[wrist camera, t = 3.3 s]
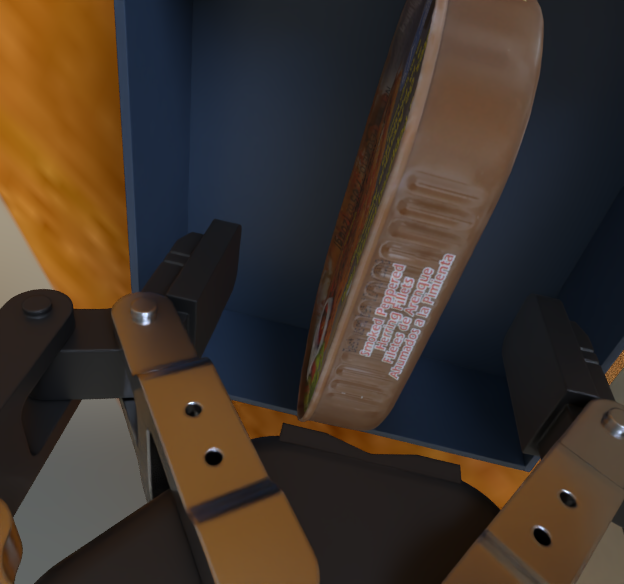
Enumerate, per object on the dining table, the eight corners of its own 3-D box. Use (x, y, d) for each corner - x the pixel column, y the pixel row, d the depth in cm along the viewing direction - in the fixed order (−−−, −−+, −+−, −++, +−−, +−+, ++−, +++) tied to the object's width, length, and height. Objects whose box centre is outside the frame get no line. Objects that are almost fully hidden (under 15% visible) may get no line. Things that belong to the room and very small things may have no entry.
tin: (423, -65, 15) (430, -45, 8) (526, -35, 15) (614, 10, 8) (309, 312, 24) (268, 465, 18) (372, 330, 24) (357, 490, 18)
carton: (190, -169, 15) (101, -200, 11) (766, -45, 14) (912, -26, 10) (182, 300, 25) (136, 377, 21) (510, 378, 25) (529, 472, 21)
